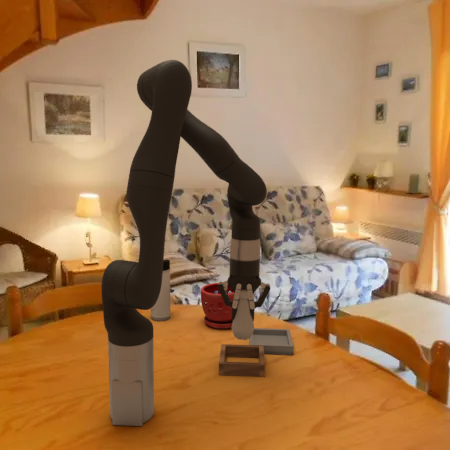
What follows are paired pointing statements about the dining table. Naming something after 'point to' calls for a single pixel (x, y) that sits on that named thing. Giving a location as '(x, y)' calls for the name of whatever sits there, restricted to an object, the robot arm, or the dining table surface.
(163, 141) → the robot arm
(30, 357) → the dining table surface
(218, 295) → the plant pot
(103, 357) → the dining table surface
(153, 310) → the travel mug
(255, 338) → the tray
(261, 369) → the rectangular frame
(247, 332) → the salt shaker
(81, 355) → the dining table surface
